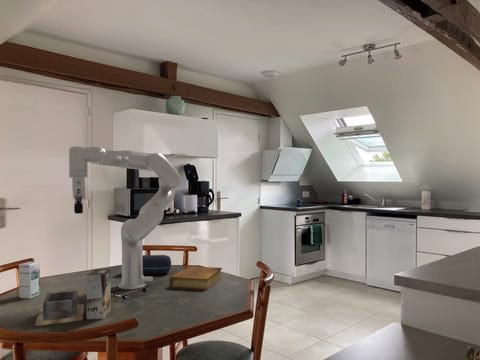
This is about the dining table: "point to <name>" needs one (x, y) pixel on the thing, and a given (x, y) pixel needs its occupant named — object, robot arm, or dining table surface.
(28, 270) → the syrup box
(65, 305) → the frame
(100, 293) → the coffee box
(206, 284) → the diary
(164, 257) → the portable speaker
